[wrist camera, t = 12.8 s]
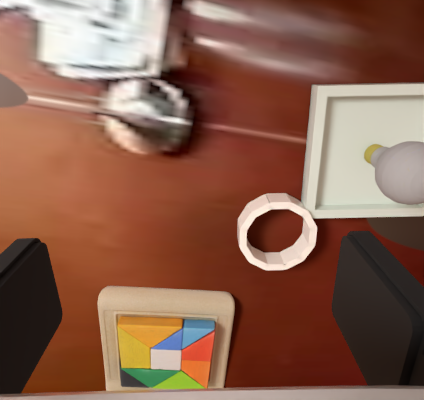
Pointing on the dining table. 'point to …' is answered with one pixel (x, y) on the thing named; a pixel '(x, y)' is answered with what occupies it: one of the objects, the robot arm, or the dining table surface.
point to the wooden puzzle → (164, 337)
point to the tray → (357, 146)
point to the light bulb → (399, 171)
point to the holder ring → (288, 255)
